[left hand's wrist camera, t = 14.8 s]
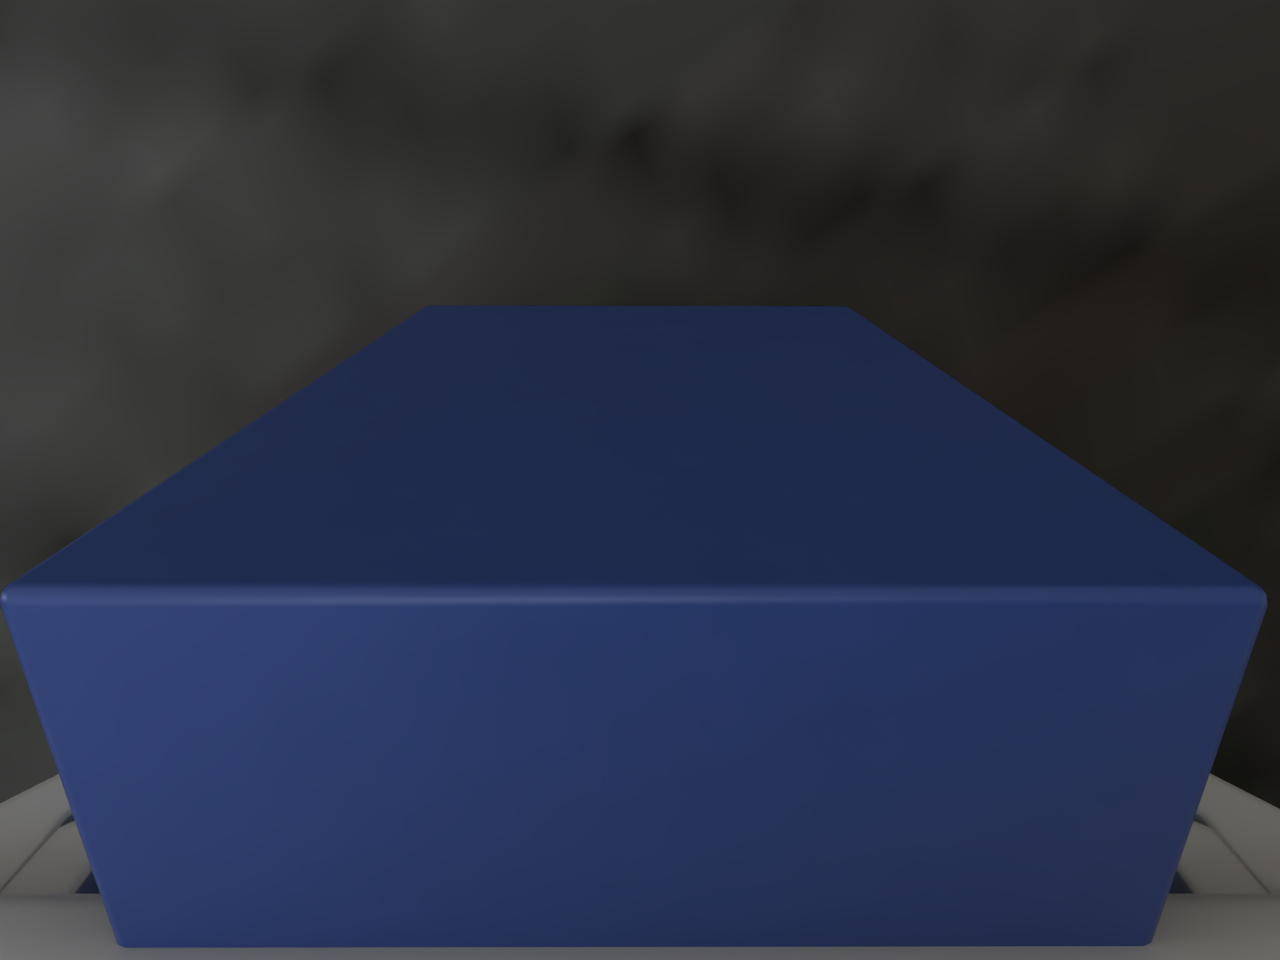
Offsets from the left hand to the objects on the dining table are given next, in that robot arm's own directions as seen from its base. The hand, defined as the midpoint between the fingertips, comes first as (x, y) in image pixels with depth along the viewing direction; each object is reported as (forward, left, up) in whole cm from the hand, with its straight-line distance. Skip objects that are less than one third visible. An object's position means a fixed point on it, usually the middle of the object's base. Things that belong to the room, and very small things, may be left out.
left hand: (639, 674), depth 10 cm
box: (0, +8, -4) cm, 9 cm away
